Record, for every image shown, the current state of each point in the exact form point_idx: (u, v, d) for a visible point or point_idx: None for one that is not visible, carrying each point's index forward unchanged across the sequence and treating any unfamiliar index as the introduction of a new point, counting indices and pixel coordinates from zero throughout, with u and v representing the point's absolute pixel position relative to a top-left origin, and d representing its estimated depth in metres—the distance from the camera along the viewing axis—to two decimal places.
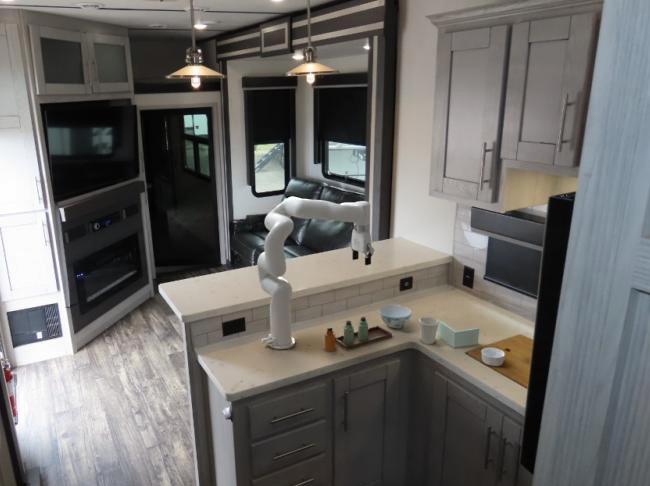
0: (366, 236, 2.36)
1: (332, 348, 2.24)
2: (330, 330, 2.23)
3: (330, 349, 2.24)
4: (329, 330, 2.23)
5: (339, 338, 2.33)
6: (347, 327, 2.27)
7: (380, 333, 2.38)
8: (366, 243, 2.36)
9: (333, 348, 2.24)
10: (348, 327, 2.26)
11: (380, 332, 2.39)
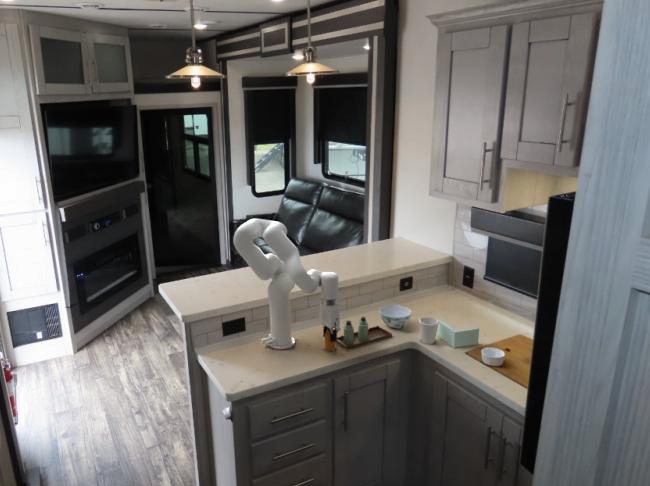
0: (334, 311, 2.16)
1: (332, 348, 2.24)
2: (330, 330, 2.23)
3: (330, 349, 2.24)
4: (329, 330, 2.23)
5: (339, 338, 2.33)
6: (347, 327, 2.27)
7: (380, 333, 2.38)
8: (334, 318, 2.17)
9: (333, 348, 2.24)
10: (348, 327, 2.26)
11: (380, 332, 2.39)
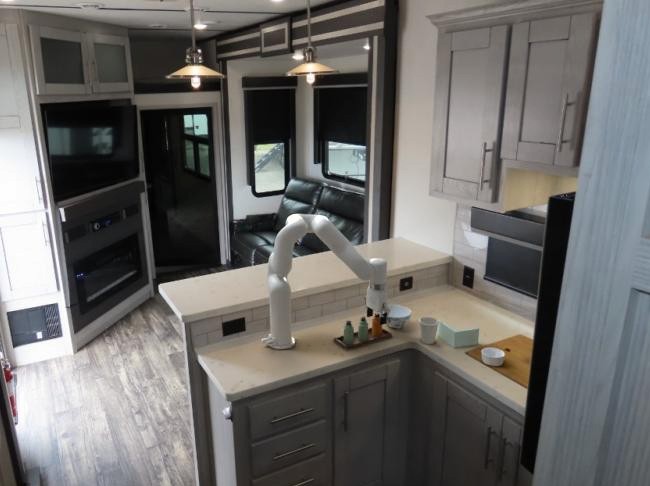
0: (382, 295, 2.27)
1: (379, 333, 2.34)
2: (378, 316, 2.33)
3: (377, 334, 2.34)
4: (377, 316, 2.33)
5: (339, 338, 2.33)
6: (347, 327, 2.27)
7: None
8: (382, 302, 2.27)
9: (380, 333, 2.34)
10: (348, 327, 2.26)
11: None
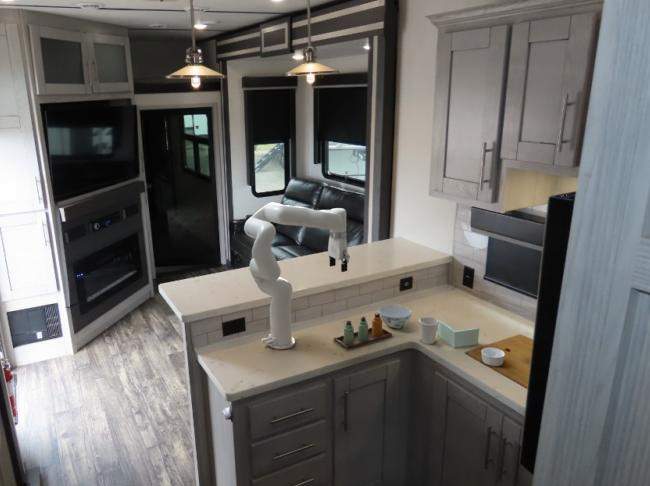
0: (342, 243, 2.37)
1: (379, 333, 2.34)
2: (378, 316, 2.33)
3: (377, 334, 2.34)
4: (377, 316, 2.33)
5: (339, 338, 2.33)
6: (347, 327, 2.27)
7: None
8: (342, 250, 2.37)
9: (380, 333, 2.34)
10: (348, 327, 2.26)
11: None
